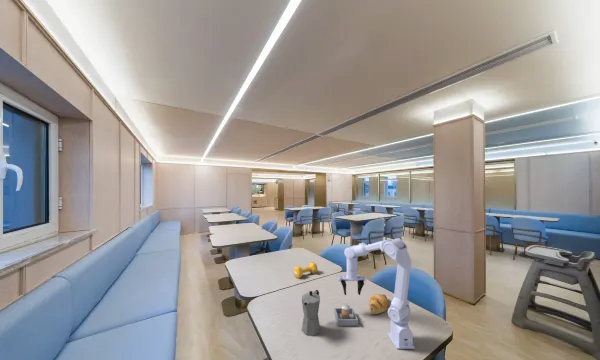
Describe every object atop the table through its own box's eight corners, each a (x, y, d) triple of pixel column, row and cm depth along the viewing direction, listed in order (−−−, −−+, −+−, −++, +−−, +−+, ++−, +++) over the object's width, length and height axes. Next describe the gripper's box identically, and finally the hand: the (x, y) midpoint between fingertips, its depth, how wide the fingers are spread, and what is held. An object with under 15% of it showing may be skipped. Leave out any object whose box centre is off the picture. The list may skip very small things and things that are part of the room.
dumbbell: (298, 280, 150) (298, 269, 150) (292, 275, 157) (292, 265, 158) (318, 274, 161) (318, 263, 161) (311, 270, 168) (311, 260, 168)
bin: (358, 326, 100) (358, 320, 101) (338, 326, 100) (337, 320, 100) (352, 313, 110) (352, 308, 111) (334, 313, 110) (334, 308, 110)
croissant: (377, 324, 107) (384, 314, 105) (360, 309, 113) (367, 298, 110) (388, 305, 123) (395, 296, 121) (374, 293, 129) (379, 283, 127)
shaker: (350, 321, 103) (350, 309, 104) (342, 321, 103) (342, 309, 104) (348, 316, 107) (348, 304, 108) (340, 316, 107) (340, 304, 108)
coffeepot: (314, 342, 90) (314, 300, 91) (295, 334, 95) (295, 295, 95) (326, 321, 104) (326, 285, 104) (310, 316, 108) (310, 281, 109)
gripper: (362, 266, 116) (362, 290, 116) (337, 266, 116) (337, 290, 116) (366, 271, 109) (367, 297, 109) (340, 271, 109) (340, 297, 109)
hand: (352, 294), depth 112 cm, fingers open, 7 cm apart
